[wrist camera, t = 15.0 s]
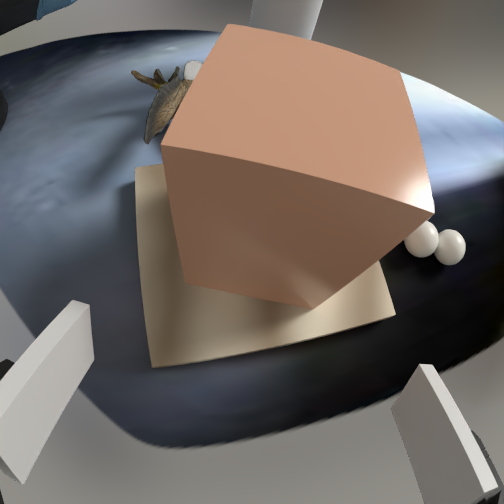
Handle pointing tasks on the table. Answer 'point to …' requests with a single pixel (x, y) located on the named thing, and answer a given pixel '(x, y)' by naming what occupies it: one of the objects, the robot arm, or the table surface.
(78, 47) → the table surface
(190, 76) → the eagle figurine
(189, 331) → the birch pad
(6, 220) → the table surface
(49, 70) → the table surface
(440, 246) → the cream marble
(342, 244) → the peach squarish block
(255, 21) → the travel mug
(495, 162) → the table surface
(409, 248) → the cream marble
